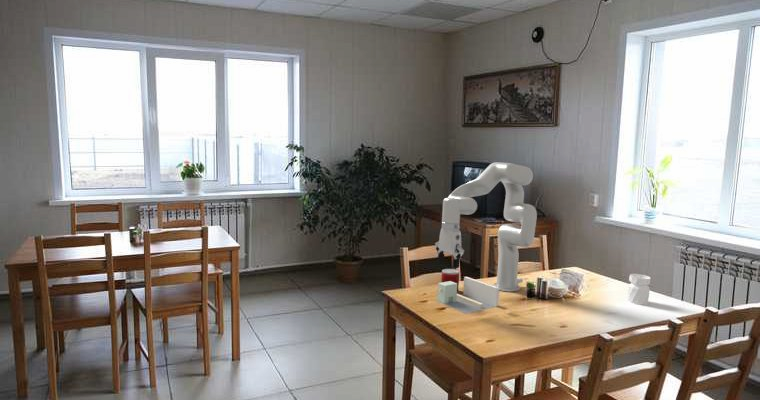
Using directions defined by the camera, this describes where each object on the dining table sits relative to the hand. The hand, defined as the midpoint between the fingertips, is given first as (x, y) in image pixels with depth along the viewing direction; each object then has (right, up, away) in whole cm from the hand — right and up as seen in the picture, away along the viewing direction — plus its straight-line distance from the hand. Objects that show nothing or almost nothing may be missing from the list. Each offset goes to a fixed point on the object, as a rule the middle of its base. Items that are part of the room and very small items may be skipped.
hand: (448, 265), depth 226 cm
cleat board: (+8, -18, +1) cm, 19 cm away
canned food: (+3, -16, +18) cm, 24 cm away
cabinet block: (0, -16, +2) cm, 16 cm away
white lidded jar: (+89, -19, +14) cm, 92 cm away
